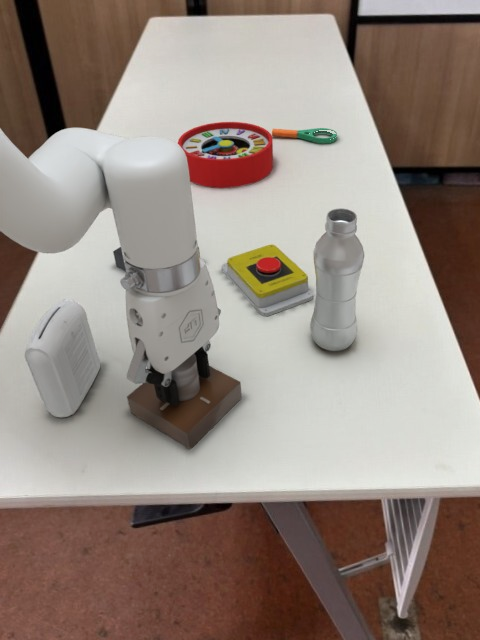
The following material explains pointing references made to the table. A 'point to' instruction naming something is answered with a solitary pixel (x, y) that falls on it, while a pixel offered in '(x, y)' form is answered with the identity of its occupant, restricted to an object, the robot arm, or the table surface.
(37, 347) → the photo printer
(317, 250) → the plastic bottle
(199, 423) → the dial panel
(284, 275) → the emergency button
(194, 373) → the dial
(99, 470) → the table surface
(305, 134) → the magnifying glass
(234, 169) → the toy clock
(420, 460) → the table surface
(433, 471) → the table surface
